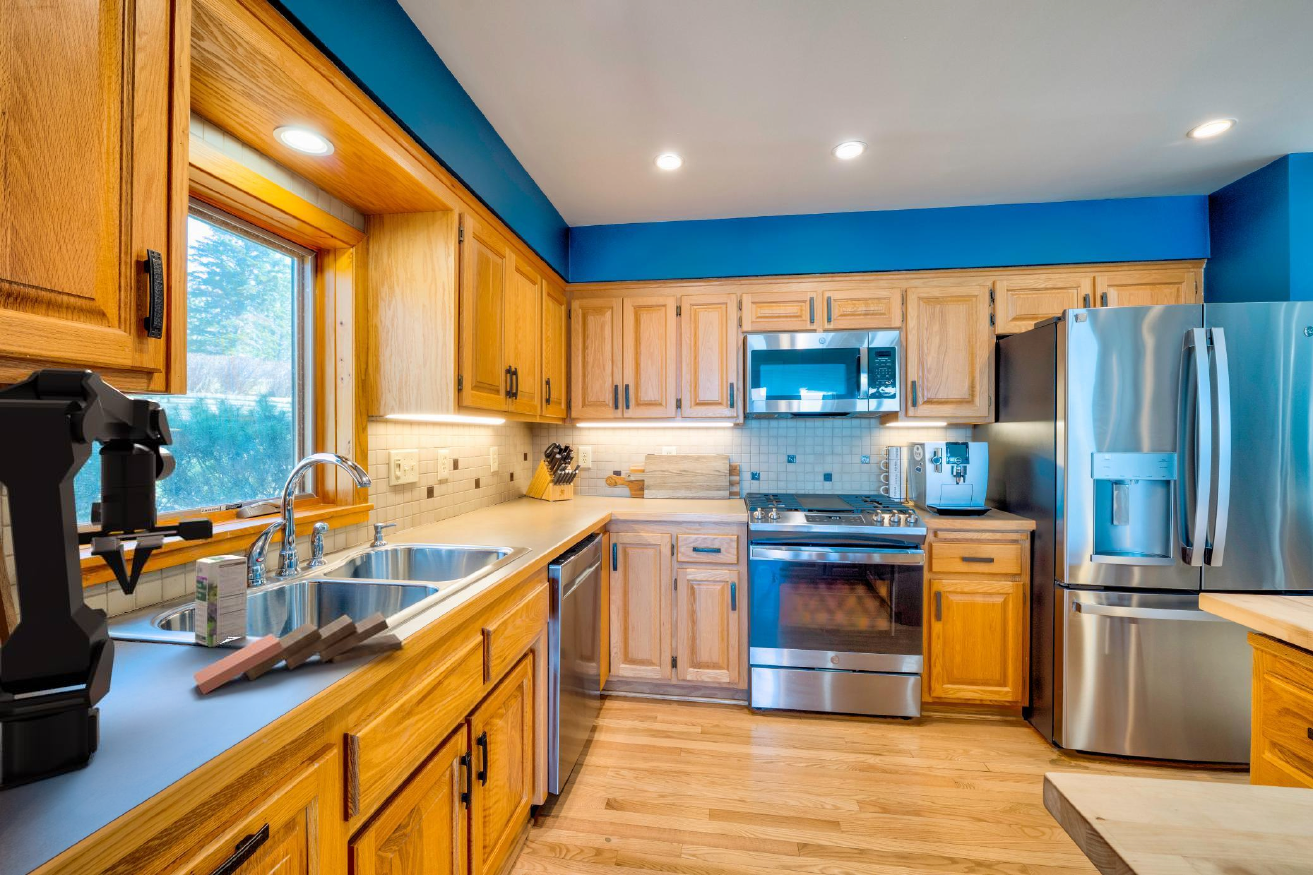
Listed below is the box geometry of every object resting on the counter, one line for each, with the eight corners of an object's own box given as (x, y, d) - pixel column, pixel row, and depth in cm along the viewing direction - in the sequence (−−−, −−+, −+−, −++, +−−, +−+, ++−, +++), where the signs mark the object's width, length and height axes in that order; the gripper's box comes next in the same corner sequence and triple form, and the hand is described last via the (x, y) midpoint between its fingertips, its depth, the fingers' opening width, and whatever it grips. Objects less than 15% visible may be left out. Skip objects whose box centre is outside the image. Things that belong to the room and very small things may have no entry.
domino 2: (245, 671, 79) (317, 628, 86) (238, 662, 83) (308, 621, 89) (251, 680, 80) (322, 636, 86) (244, 671, 83) (312, 629, 90)
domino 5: (333, 656, 86) (401, 641, 92) (328, 647, 90) (394, 633, 96) (333, 666, 86) (401, 651, 92) (328, 657, 90) (394, 642, 96)
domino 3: (285, 661, 82) (352, 620, 88) (280, 652, 86) (345, 614, 92) (290, 669, 83) (357, 628, 89) (285, 661, 86) (349, 622, 92)
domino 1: (198, 685, 75) (279, 641, 82) (192, 674, 79) (270, 633, 85) (203, 694, 76) (283, 649, 82) (198, 683, 79) (275, 641, 86)
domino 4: (318, 653, 85) (385, 619, 90) (315, 643, 89) (379, 611, 94) (322, 662, 85) (388, 627, 91) (319, 652, 89) (383, 619, 95)
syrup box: (193, 642, 95) (193, 559, 95) (232, 632, 101) (232, 553, 101) (209, 648, 93) (209, 562, 93) (248, 637, 98) (248, 556, 98)
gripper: (210, 480, 91) (210, 573, 91) (43, 487, 79) (43, 595, 79) (212, 483, 83) (213, 586, 83) (26, 492, 71) (26, 613, 71)
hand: (129, 594), depth 79 cm, fingers closed
